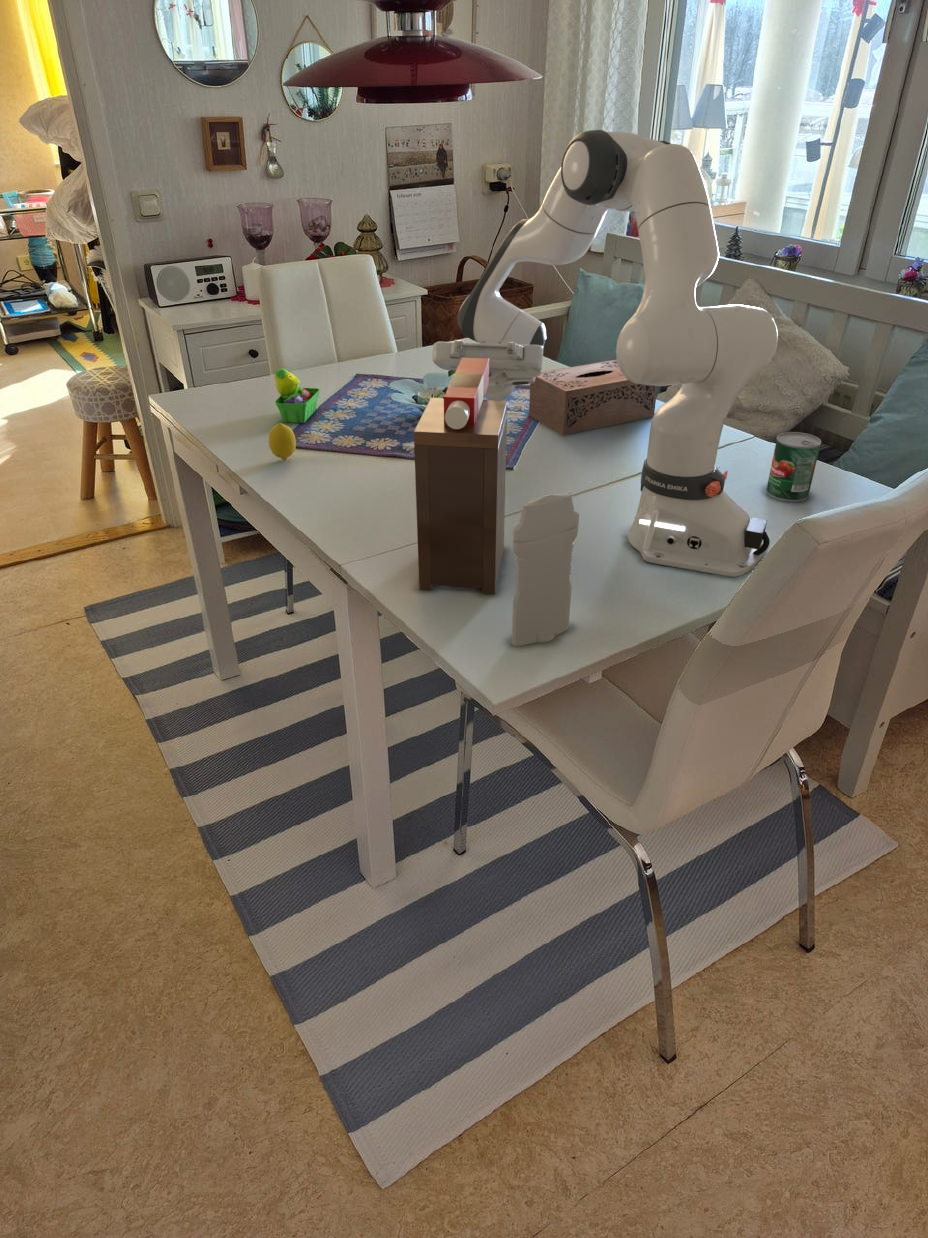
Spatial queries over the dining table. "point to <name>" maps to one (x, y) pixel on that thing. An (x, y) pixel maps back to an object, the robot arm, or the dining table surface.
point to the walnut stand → (460, 497)
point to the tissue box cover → (589, 398)
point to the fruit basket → (294, 398)
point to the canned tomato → (793, 466)
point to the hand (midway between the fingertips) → (484, 345)
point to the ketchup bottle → (466, 392)
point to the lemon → (282, 441)
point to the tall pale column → (543, 568)
